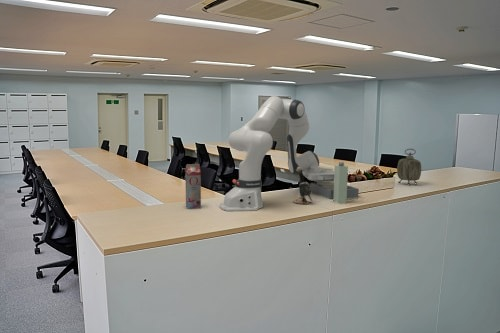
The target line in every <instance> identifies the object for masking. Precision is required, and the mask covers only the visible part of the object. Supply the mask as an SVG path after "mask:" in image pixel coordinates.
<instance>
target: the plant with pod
mask: <svg viewBox="0 0 500 333" xmlns="http://www.w3.org/2000/svg"><path fill="white" fill-rule="evenodd" d="M301 171H302V169H301V168H300V167H297V169H296V173H299V175H298V176H299V178H301V174H302V173H301ZM298 190H299V196H300V197H298V198H297V199H296V200H293V201H292V203H295V204H296V203H297V204H301V205H302V204H303V205H309V204H308V203H310V204H311V202H313V199H312V198H311V194H312V193H313V192H312V191H311V187H310V183H309V182H307V181H303V182H301V179H299V184H298ZM306 196H308V198H309V199H310V201H311V202H310V201H309V200H307V199H306Z"/></svg>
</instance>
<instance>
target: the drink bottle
mask: <svg viewBox="0 0 500 333" xmlns="http://www.w3.org/2000/svg"><path fill="white" fill-rule="evenodd" d="M334 171H335V173H334V180H333V181H334V198H333V199H332V200H333V201H334V202H333V201H332V202H333V203H335V202H337V203H345V204H347V200H346V199H348V198H347V185H348V178H349V177H348V171H349V167H348V166H347V165H345V162H343V161H339V162H338V165H334ZM337 203H336V204H337Z"/></svg>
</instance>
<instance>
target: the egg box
mask: <svg viewBox="0 0 500 333" xmlns="http://www.w3.org/2000/svg"><path fill="white" fill-rule="evenodd" d="M315 183H316V185H319V186H322V187H324V188H327V189H330V190H334V180H327V181H323V182H315Z"/></svg>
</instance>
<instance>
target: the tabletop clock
mask: <svg viewBox="0 0 500 333" xmlns="http://www.w3.org/2000/svg"><path fill="white" fill-rule="evenodd" d="M410 150H411V151H414V153H411V152H409V153H407V152H406V151H410ZM404 154H405V155H407V156H406V157H405V158H401V159H399V160H398V161H397V166H396V173H397V177H398V178H399V179H400V180H398V182H397V183H398V184H399V183H400V184H401V181H408V183H407V185H408V184H410V181H414V184H415V183H417V184H418V182H417V181H418V180H419V179H420V178H421V175H422V163H421V161H420V160H418V159H415V157H414V156H413V155H415V154H416V149H414V148H407V149H405V150H404ZM410 185H411V184H410Z"/></svg>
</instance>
